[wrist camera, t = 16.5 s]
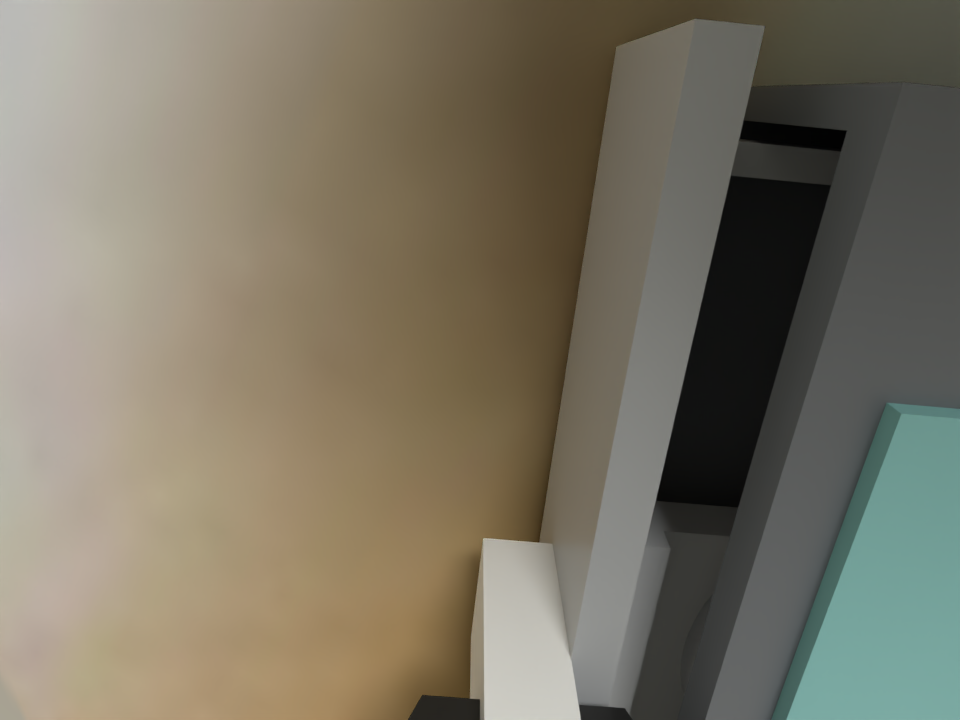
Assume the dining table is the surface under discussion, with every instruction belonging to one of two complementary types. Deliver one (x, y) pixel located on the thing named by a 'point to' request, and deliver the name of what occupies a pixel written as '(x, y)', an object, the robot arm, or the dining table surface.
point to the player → (832, 417)
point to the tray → (649, 358)
